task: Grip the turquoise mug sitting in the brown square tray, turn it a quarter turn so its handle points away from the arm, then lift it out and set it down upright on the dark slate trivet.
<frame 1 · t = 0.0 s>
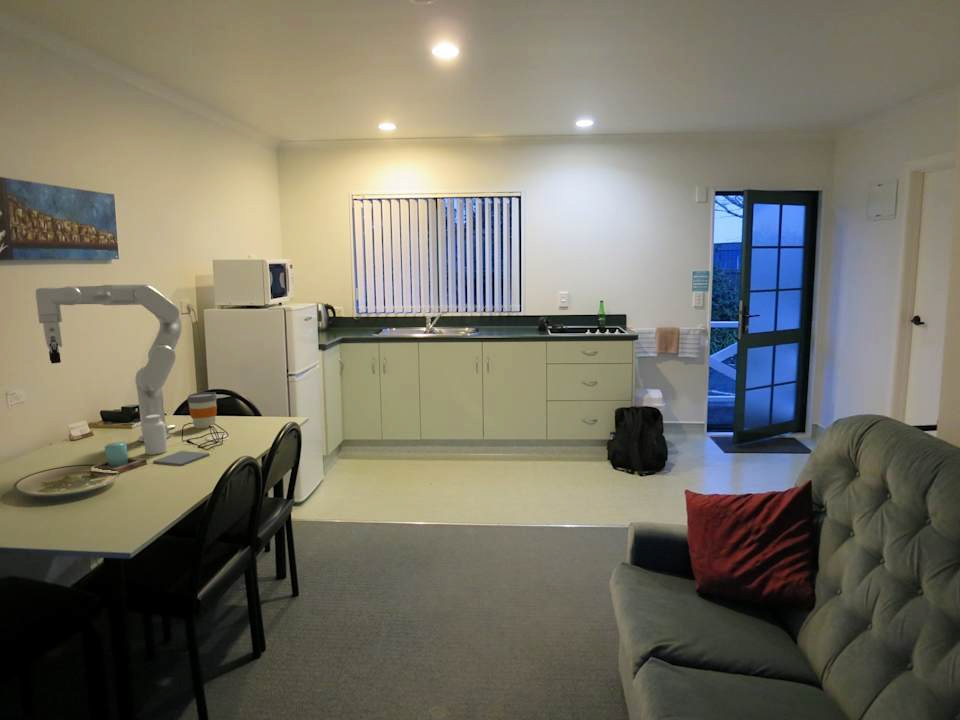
hand: (55, 361, 257), 37 cm above the table, tool pointing down, fingers open, 9 cm apart
brown square tray: (119, 467, 239), on the table
pill bottle: (156, 452, 259), on the table
turquoise mug: (115, 455, 239), in the brown square tray
reusable coffee cup: (204, 426, 302), on the table
trivet: (181, 459, 248), on the table
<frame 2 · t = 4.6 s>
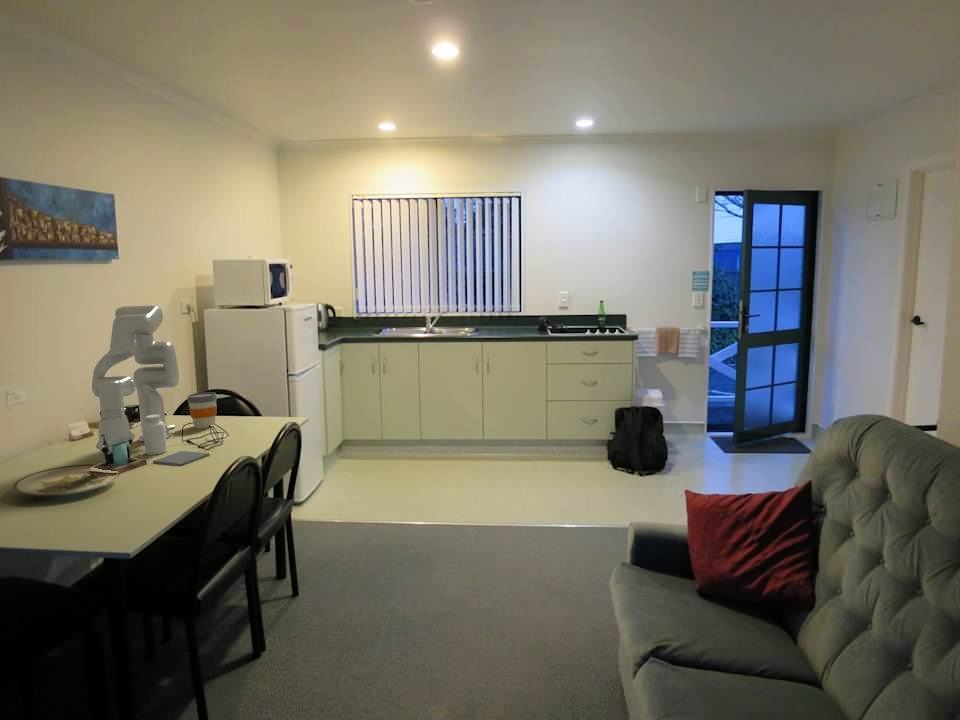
hand: (118, 460, 239), 3 cm above the table, tool pointing down, fingers closed on turquoise mug, 6 cm apart
turquoise mug: (115, 455, 239), in the brown square tray, touching gripper
everything else where it was.
when the fingers open (5 cm above the table, at t = 12.2 s): turquoise mug drops 1 cm, resting on trivet.
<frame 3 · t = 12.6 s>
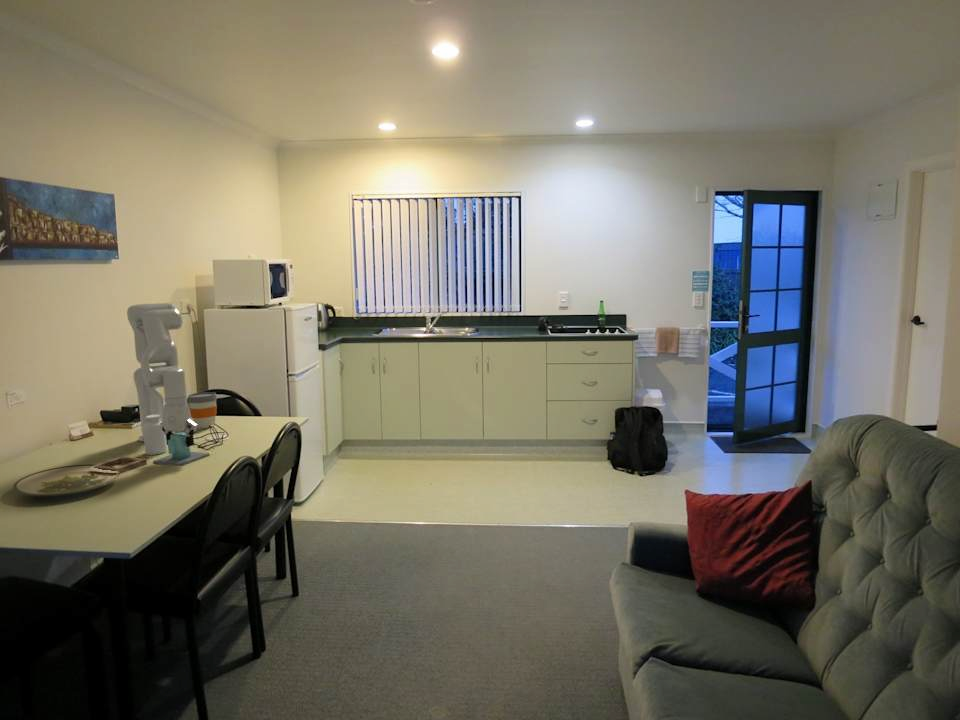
hand: (180, 445, 247), 6 cm above the table, tool pointing down, fingers open, 9 cm apart
turquoise mug: (178, 446, 246), on the trivet, point 5 cm above the table
everything else where it was.
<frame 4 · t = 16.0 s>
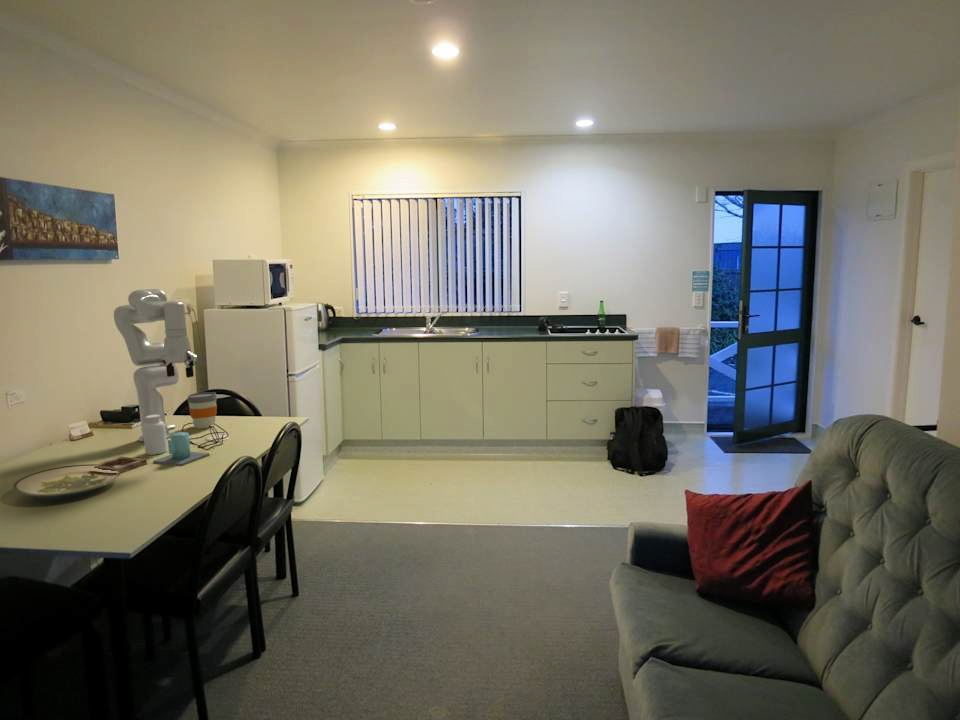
hand: (180, 376, 256), 30 cm above the table, tool pointing down, fingers open, 9 cm apart
nothing on the table moved.
at the end: turquoise mug inside the target area on the trivet (0.1 cm from its centre), point 5.4 cm above the trivet's base; turquoise mug tilted 1°; the gripper is holding nothing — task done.
